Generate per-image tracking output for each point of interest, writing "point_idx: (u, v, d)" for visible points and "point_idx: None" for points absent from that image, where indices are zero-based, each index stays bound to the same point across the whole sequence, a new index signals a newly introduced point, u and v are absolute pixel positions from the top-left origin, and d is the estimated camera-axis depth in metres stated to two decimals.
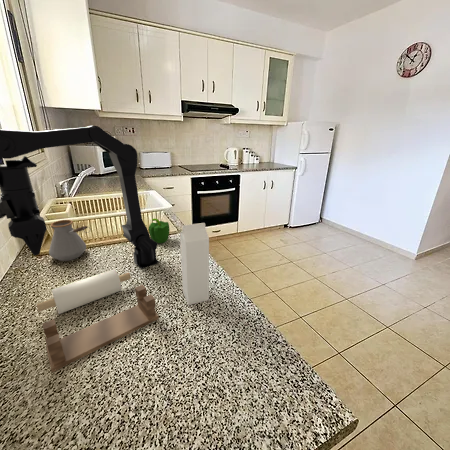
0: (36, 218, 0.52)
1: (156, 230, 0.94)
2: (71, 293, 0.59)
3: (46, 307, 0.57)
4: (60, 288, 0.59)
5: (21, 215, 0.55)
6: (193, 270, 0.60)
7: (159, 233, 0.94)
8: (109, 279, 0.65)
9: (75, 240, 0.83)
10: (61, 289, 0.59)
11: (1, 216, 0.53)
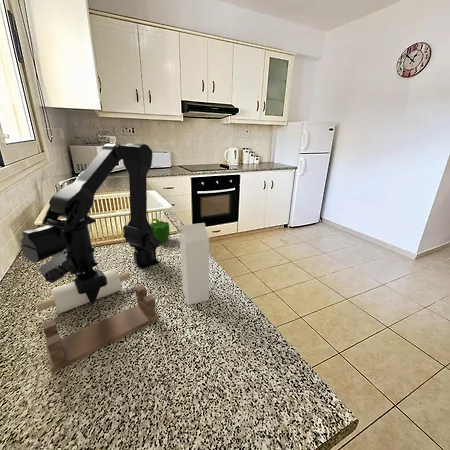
0: (99, 274, 0.56)
1: (156, 230, 0.94)
2: (71, 293, 0.59)
3: (46, 307, 0.57)
4: (60, 288, 0.59)
5: (82, 269, 0.59)
6: (193, 270, 0.60)
7: (159, 233, 0.94)
8: (109, 279, 0.65)
9: None
10: (61, 289, 0.59)
11: (66, 272, 0.57)
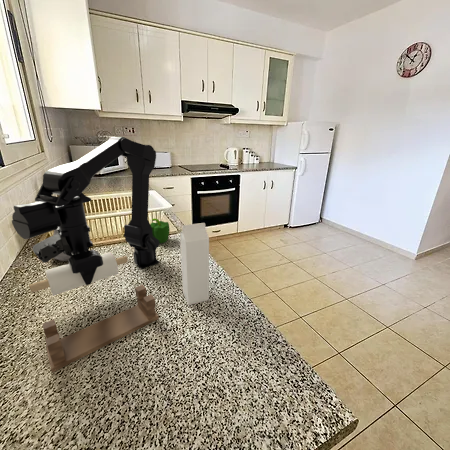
0: (94, 254, 0.54)
1: (156, 230, 0.94)
2: (65, 274, 0.57)
3: (39, 288, 0.55)
4: (54, 269, 0.57)
5: (77, 250, 0.56)
6: (193, 270, 0.60)
7: (159, 233, 0.94)
8: (105, 261, 0.62)
9: None
10: (55, 270, 0.57)
11: (60, 252, 0.55)
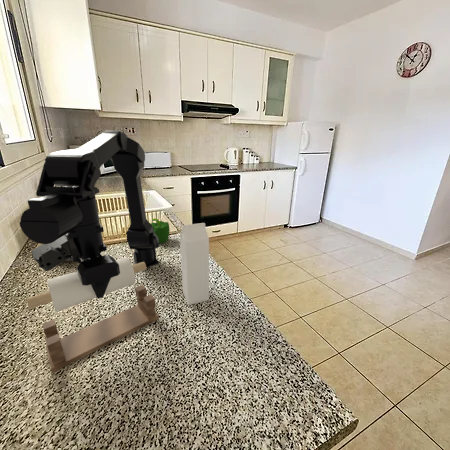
0: (109, 261, 0.43)
1: (156, 230, 0.94)
2: (72, 285, 0.45)
3: (39, 303, 0.44)
4: (58, 278, 0.46)
5: (88, 255, 0.45)
6: (193, 270, 0.60)
7: (159, 233, 0.94)
8: (120, 269, 0.51)
9: None
10: (59, 280, 0.45)
11: (66, 257, 0.43)
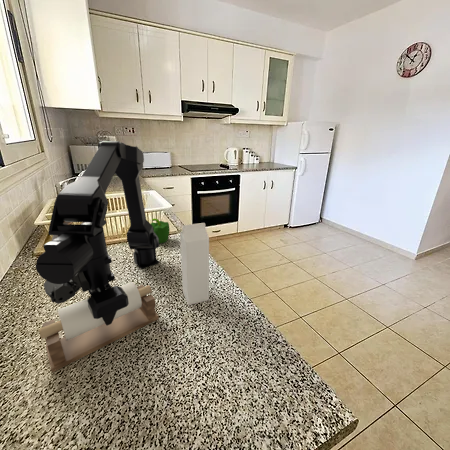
0: (119, 293, 0.44)
1: (156, 230, 0.94)
2: (82, 314, 0.47)
3: (51, 333, 0.46)
4: (68, 308, 0.47)
5: (97, 285, 0.47)
6: (193, 270, 0.60)
7: (159, 233, 0.94)
8: (127, 295, 0.53)
9: None
10: (69, 310, 0.47)
11: (76, 290, 0.45)
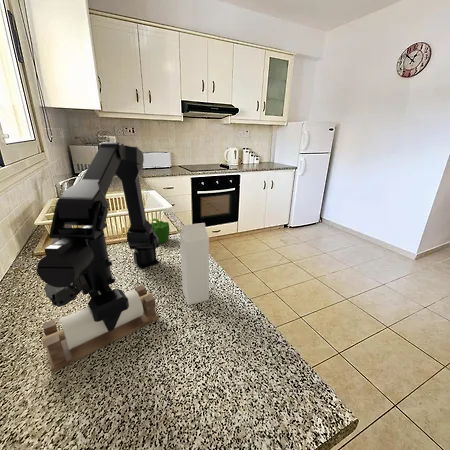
0: (119, 296, 0.45)
1: (156, 230, 0.94)
2: (87, 331, 0.47)
3: None
4: (73, 323, 0.47)
5: (97, 288, 0.47)
6: (193, 270, 0.60)
7: (159, 233, 0.94)
8: (132, 310, 0.53)
9: None
10: (74, 326, 0.46)
11: (77, 293, 0.45)
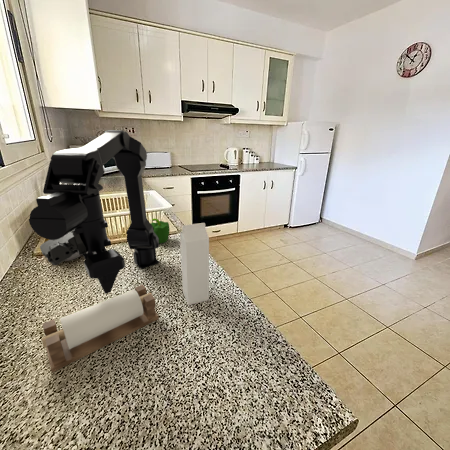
0: (115, 255, 0.45)
1: (156, 230, 0.94)
2: (86, 330, 0.47)
3: None
4: (73, 322, 0.47)
5: (93, 249, 0.47)
6: (193, 270, 0.60)
7: (159, 233, 0.94)
8: (131, 309, 0.53)
9: None
10: (74, 325, 0.47)
11: (73, 252, 0.45)
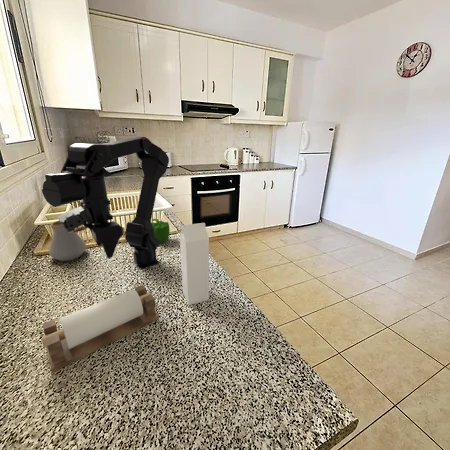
0: (116, 224, 0.57)
1: (156, 230, 0.94)
2: (86, 328, 0.47)
3: None
4: (72, 321, 0.47)
5: (99, 221, 0.60)
6: (193, 270, 0.60)
7: (159, 233, 0.94)
8: (131, 308, 0.53)
9: (75, 240, 0.83)
10: (73, 323, 0.47)
11: (83, 222, 0.58)
